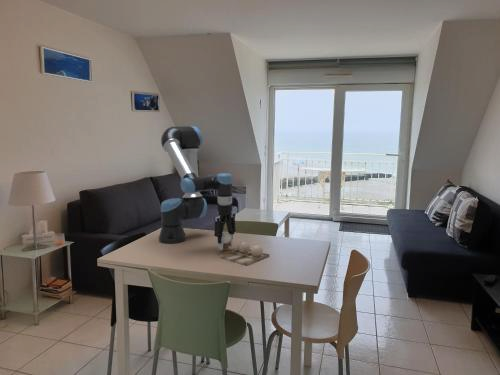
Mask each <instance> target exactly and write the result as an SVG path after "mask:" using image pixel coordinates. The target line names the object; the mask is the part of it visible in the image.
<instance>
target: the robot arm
mask: <svg viewBox="0 0 500 375" xmlns="http://www.w3.org/2000/svg"><path fill="white" fill-rule="evenodd" d="M160 143H161V147H162V149H163V150H164V152H166V153H167V154H168V156H169V158H170V160H171V161H172V164H173V165H174V167H175V169H176V171H177V173H178V175H179V176H180V184H179V185H180V189H181V191H182V193H184V195H183V196H182V199H181V198H178V197H176V198H168V199H166V200H163V201H162V202H161V205H160V213H161V215H160V216H161V218H160V220H161V229H160V232H159V235H158V241H159V243H163V244H176V243H183V242H184V241H186V239H187V237H186V235H187V234H186V233H185V230H184V227H183V222H184V221H188V220H189V221H191V220H198V219H202V218H203V217H205V216H206V214H207V212H208V204H207V200H206V199H205V198H204V197H203V194H201V192H211V191H216V192H217V196H216V197H217V212H218V215H217V217H213V219H214V235H213V236H214V237H216V238H217V243H218V246H217V247H218V249H219V250H223V237H222V234H223V233H224V229H225V225H226V229H227V233H229V234H230V236H231V241H230V242H229V243H231V245H229V246H228V247H230V248H231V247H233V238H234V237H233V235H235V233H236V213H232V212H233V176H232V174H231V173H227V172H226V173H225V172H223V173H221V172H220V173H218V174H217V175H215V174H210V175H209V174H208V175H207V176H206V175H205V176H199V165H198V151H199V150H200V147H201V145H202V144H203V135H202V132H201V130H200V129H199V128H198V127H197V126H191V125H190V126H186V125H185V126H169V127H168V128H166V129H165V130H164V131H163V133H162V135H161V140H160Z"/></svg>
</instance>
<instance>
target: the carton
mask: <svg viewBox="0 0 500 375" xmlns="http://www.w3.org/2000/svg"><path fill="white" fill-rule="evenodd" d="M219 258H220V259H221V260H225V261H229V262H233V263H236V264H239V265H242V266H246V267H248V266H250V265H253V264H254V263H257V262H259V261H262V260H264V259H267V258H270V254H269V253H266V252H263V253H262V255H261V256H259V257H254V256H253V255H252V254H251V248H250V249H249V251H248V252H247V253H244V254H243V253H240V252H239V250H238V248H237V249H235V250H232V251H231V250H230V252H227V253H222V254H220V255H219Z"/></svg>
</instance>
